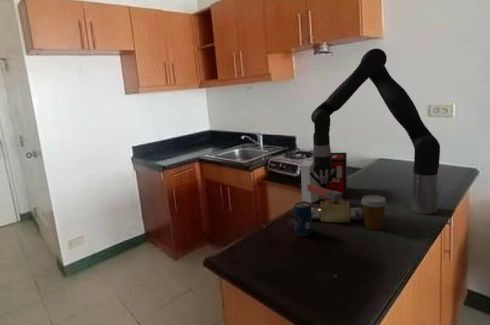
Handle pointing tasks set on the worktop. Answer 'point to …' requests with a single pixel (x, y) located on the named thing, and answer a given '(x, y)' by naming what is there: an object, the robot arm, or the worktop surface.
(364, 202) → the disposable coffee cup
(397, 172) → the worktop surface
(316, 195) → the milk
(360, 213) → the pipe valve
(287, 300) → the worktop surface
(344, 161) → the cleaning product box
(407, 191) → the worktop surface
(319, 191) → the lever
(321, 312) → the worktop surface
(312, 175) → the robot arm
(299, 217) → the soda can
